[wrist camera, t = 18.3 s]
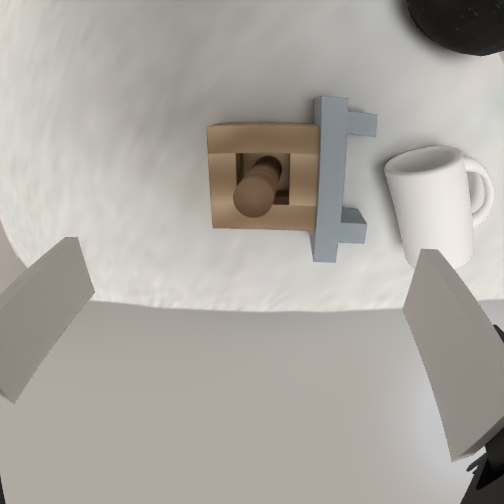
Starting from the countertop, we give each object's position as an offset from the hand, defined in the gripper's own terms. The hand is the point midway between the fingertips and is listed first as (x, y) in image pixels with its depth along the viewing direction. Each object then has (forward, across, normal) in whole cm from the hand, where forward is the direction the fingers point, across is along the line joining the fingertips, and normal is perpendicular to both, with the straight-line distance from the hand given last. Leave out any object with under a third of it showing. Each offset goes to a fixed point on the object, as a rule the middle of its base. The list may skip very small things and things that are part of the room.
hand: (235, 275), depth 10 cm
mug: (+20, +18, -2) cm, 27 cm away
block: (+20, 0, -1) cm, 20 cm away
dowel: (+19, 0, -1) cm, 19 cm away
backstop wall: (+20, +7, -1) cm, 21 cm away
